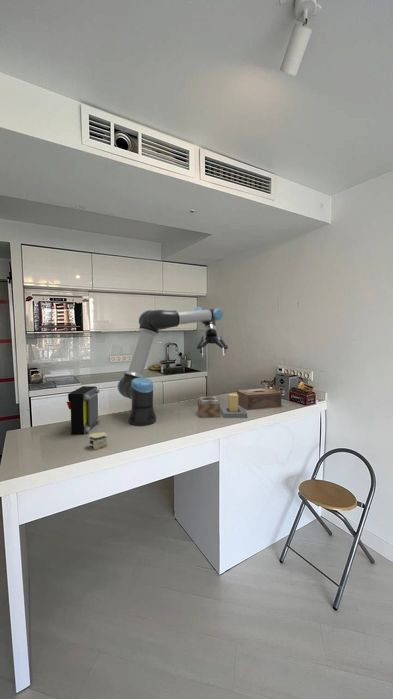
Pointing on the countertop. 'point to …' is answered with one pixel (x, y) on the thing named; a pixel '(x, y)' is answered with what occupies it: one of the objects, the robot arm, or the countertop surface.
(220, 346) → the robot arm
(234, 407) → the pale yellow tall block
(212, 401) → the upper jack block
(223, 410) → the lower jack plate
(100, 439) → the beige layered block
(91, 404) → the electrical component
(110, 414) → the countertop surface
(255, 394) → the tissue box cover
